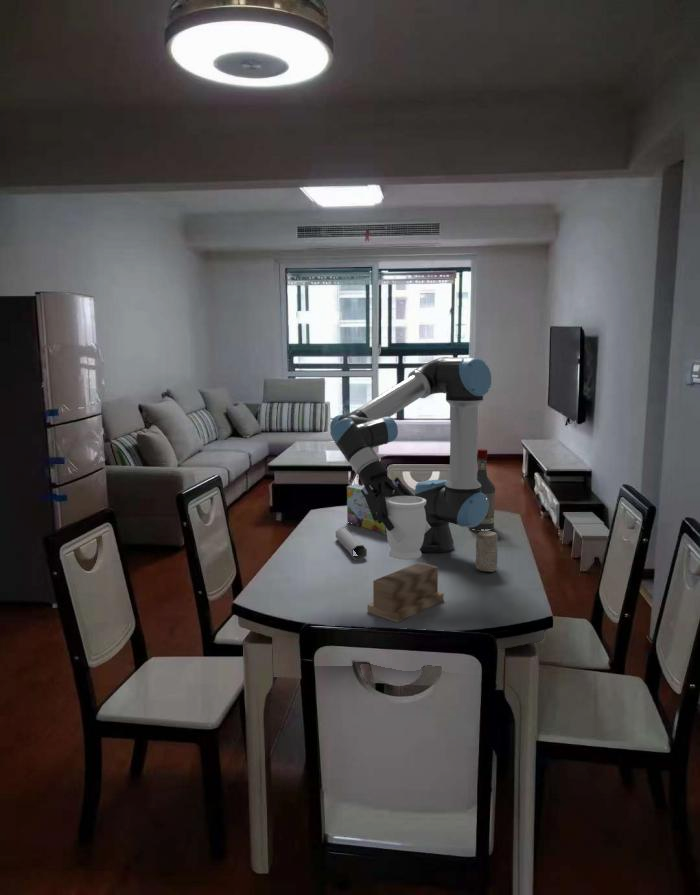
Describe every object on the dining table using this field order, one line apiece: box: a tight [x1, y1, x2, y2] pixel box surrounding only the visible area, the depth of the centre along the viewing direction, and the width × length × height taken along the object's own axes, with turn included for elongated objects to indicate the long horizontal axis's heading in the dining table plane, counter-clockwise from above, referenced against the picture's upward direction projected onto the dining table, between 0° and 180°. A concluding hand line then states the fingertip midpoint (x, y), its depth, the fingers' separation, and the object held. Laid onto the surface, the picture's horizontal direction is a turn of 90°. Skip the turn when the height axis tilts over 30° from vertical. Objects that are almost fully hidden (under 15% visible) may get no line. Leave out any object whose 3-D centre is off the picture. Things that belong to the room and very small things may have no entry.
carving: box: [475, 530, 499, 573], centre depth 204 cm, size 6×8×12 cm
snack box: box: [346, 483, 389, 535], centre depth 253 cm, size 21×6×15 cm, turn 42°
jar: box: [386, 495, 426, 561], centre depth 174 cm, size 11×10×15 cm
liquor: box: [468, 448, 496, 530], centre depth 251 cm, size 9×9×30 cm
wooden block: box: [367, 561, 445, 623], centre depth 176 cm, size 20×10×9 cm, turn 138°
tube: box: [335, 527, 368, 561], centre depth 227 cm, size 5×5×25 cm
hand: (414, 534), depth 172 cm, fingers closed on jar, 10 cm apart
